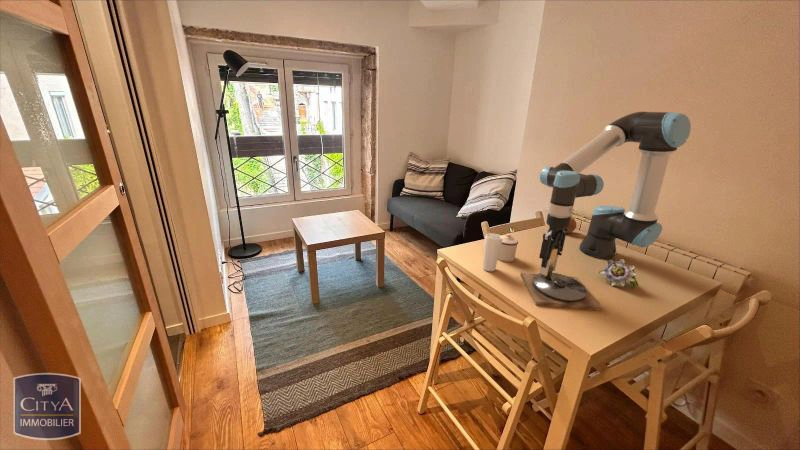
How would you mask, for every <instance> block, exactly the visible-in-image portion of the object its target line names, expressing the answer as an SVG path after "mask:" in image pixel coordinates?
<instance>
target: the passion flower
mask: <svg viewBox="0 0 800 450" xmlns="http://www.w3.org/2000/svg"><path fill="white" fill-rule="evenodd" d="M606 262H607V263H606V264H604V266H605V268H604V269H603V270H600V271H598V274H600V275H605V277H606V278H605V282H607V283H608V282H609V283H610V286H611V287H614V286H616V285H617V283H618V284H619V285H620V287H624V286H625V285H626V283H627V282H628V281H629V282H630V284H631V287H632V289H635V288H636V287H637V286H638V285H639V283H638V280H637V278H636V277H635V276H637V274H636V271H635V265H626V264H625V259H624V258H621V259H619V260H616V261H613V260H612V259H610V260H609V259H606Z"/></svg>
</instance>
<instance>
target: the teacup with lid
mask: <svg viewBox="0 0 800 450" xmlns="http://www.w3.org/2000/svg"><path fill="white" fill-rule="evenodd" d="M501 236H502V245H501V249H500V253H499V257H498V260H497V261H501V262H505V263H506V262H507V263H510V262H511V263H512V262H513V261H514V260H515V258H516V254H517V252H516V251H517V247H518V244H519V240H518V239H517V238H516V237H513V236H512V235H511V233H506V234H504V235H501Z"/></svg>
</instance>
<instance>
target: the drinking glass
mask: <svg viewBox="0 0 800 450" xmlns="http://www.w3.org/2000/svg"><path fill="white" fill-rule="evenodd" d="M502 236H503V235H500V234H498V233H493V232H492V233H491V232H489V233H486V234H485V237H484V241H483V242H484V245H483V260H482V261H483V262H482V268H483V270H484V271H486V272H495V270H496V268H497V263H498V261H499V260H498V257H499V253H500V249H501V245H502Z"/></svg>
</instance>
